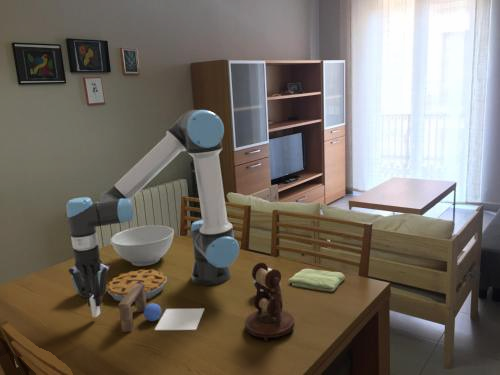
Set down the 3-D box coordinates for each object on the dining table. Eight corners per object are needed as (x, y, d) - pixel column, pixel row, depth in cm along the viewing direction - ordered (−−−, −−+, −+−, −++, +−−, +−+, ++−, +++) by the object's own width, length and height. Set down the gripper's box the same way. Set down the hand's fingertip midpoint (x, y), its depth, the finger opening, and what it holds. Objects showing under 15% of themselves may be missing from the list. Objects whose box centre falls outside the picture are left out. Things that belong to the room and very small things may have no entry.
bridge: (147, 308, 149) (144, 283, 147) (131, 331, 135) (127, 304, 133) (138, 308, 149) (135, 283, 147) (122, 331, 135) (118, 304, 133)
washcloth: (302, 272, 170) (301, 264, 170) (346, 280, 161) (345, 271, 161) (287, 286, 159) (286, 278, 159) (333, 295, 150) (333, 286, 150)
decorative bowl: (129, 250, 208) (126, 225, 205) (183, 249, 204) (181, 224, 201) (103, 273, 182) (99, 246, 180) (165, 273, 178) (161, 244, 175)
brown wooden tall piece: (304, 330, 129) (301, 266, 125) (263, 348, 121) (258, 281, 117) (275, 311, 141) (271, 252, 137) (236, 326, 133) (230, 265, 129)
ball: (151, 317, 144) (166, 312, 143) (145, 326, 139) (161, 321, 138) (144, 302, 143) (159, 298, 142) (138, 311, 138) (154, 306, 137)
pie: (119, 279, 175) (117, 268, 174) (173, 276, 174) (171, 265, 173) (99, 305, 154) (97, 292, 153) (160, 302, 153) (158, 289, 152)
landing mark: (204, 308, 146) (204, 308, 146) (195, 329, 133) (195, 329, 133) (166, 309, 147) (166, 309, 147) (154, 330, 135) (154, 329, 135)
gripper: (59, 251, 135) (71, 321, 140) (100, 250, 134) (110, 320, 139) (72, 243, 142) (82, 309, 147) (110, 242, 141) (120, 309, 146)
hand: (96, 314), depth 143 cm, fingers closed
